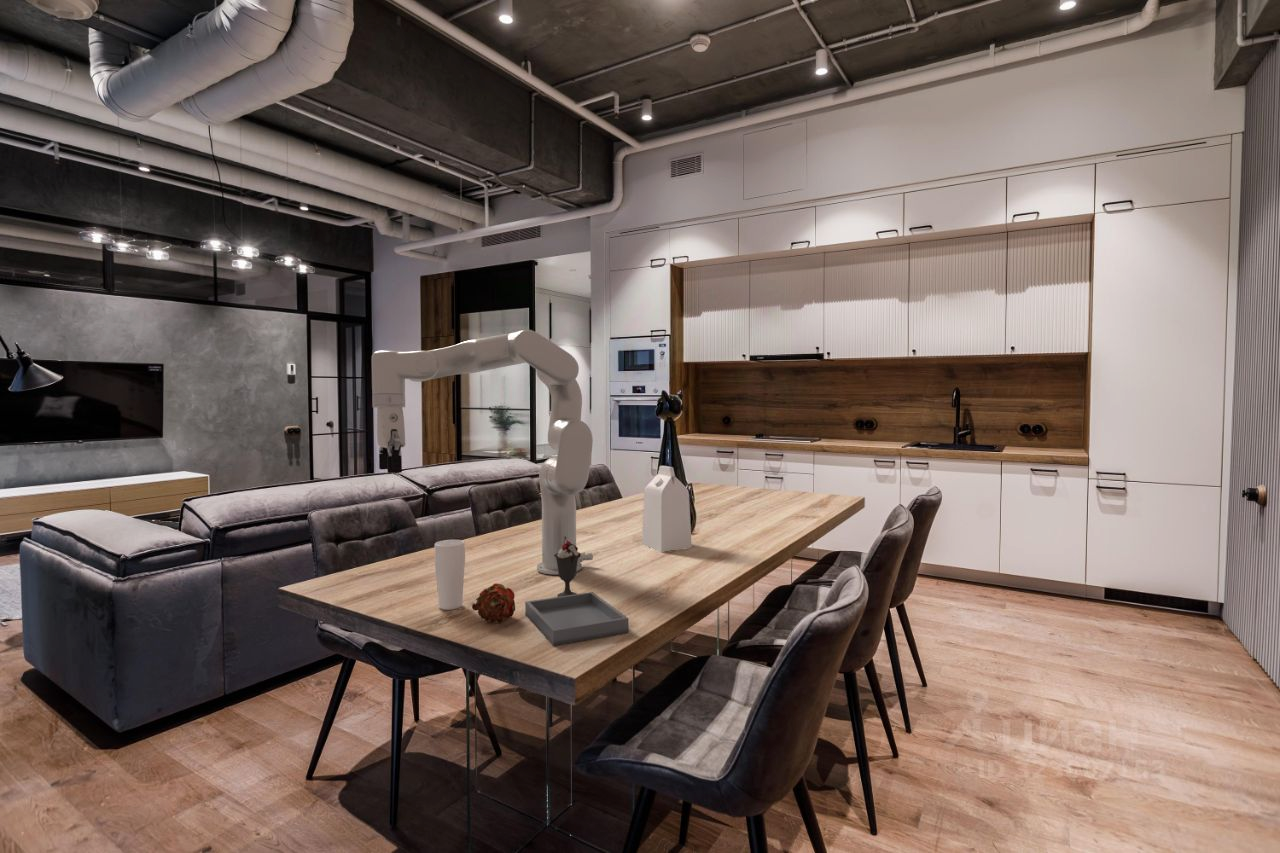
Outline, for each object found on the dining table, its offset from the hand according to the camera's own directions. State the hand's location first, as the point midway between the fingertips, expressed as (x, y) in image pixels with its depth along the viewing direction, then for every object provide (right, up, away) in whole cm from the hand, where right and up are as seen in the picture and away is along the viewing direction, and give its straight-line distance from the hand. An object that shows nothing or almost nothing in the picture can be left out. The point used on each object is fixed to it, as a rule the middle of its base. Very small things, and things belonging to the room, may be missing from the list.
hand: (390, 470), depth 158 cm
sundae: (+44, -31, -2) cm, 54 cm away
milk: (+70, -28, +49) cm, 90 cm away
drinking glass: (+18, -31, -10) cm, 37 cm away
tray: (+48, -31, -21) cm, 61 cm away
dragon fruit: (+30, -31, -19) cm, 47 cm away
